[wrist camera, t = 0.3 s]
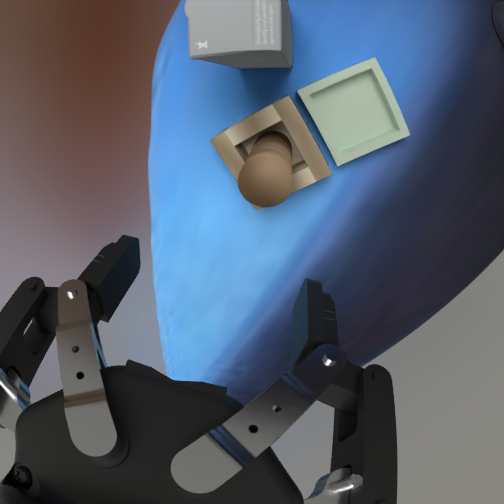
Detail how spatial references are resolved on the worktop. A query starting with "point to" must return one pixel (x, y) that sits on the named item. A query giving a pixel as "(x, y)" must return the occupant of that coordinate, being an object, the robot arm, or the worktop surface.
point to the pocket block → (285, 121)
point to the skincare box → (240, 32)
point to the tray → (355, 110)
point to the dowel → (267, 170)
